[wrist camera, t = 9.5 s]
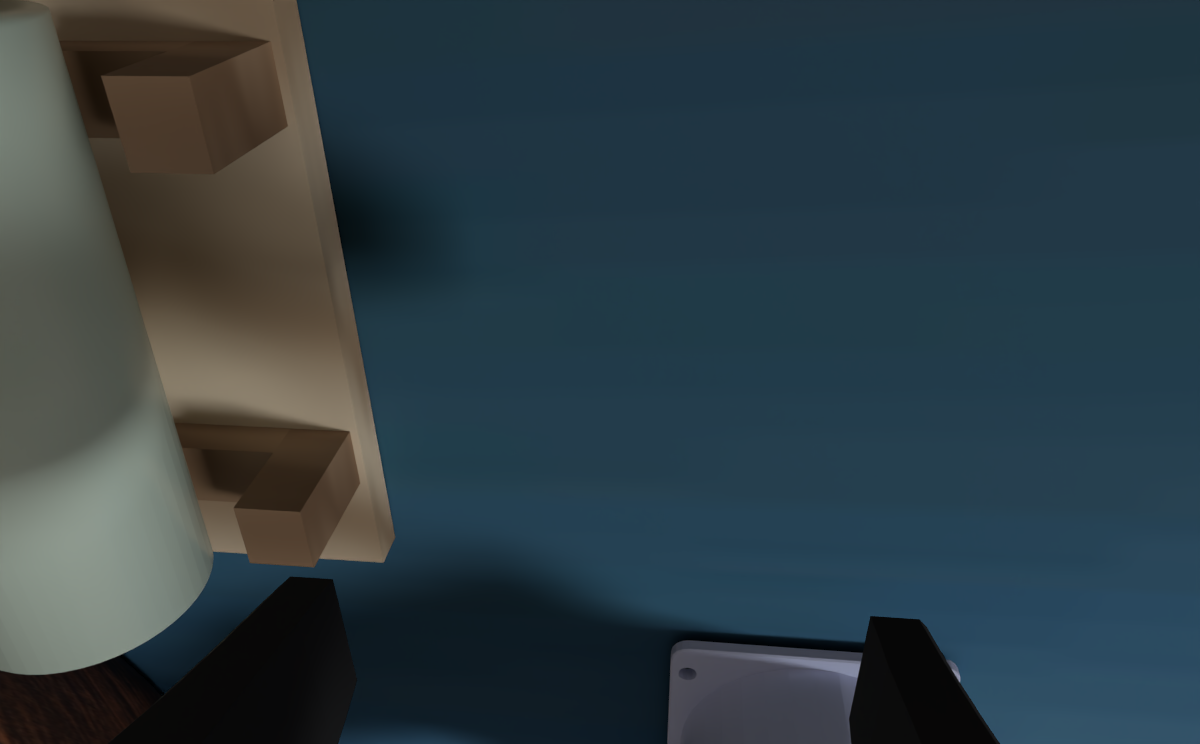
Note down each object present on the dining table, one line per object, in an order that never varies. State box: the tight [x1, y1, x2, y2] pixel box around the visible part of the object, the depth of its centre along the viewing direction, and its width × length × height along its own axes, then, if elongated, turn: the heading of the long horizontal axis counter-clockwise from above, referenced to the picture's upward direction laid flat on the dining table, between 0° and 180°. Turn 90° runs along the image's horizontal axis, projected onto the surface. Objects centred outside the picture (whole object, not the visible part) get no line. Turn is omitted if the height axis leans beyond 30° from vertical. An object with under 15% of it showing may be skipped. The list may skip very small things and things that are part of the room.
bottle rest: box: [24, 0, 395, 567], centre depth 19 cm, size 16×10×4 cm, turn 1°
